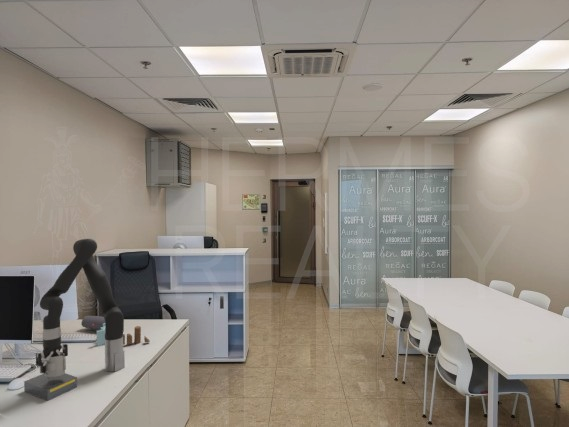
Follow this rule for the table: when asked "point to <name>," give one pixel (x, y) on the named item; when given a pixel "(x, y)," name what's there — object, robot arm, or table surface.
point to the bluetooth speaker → (93, 322)
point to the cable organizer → (55, 367)
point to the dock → (50, 386)
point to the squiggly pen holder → (101, 336)
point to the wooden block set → (135, 336)
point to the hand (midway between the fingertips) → (52, 369)
